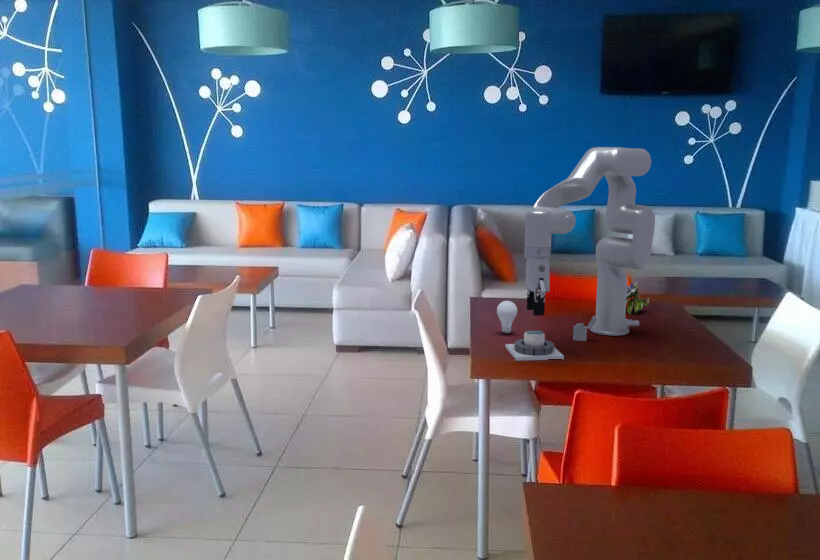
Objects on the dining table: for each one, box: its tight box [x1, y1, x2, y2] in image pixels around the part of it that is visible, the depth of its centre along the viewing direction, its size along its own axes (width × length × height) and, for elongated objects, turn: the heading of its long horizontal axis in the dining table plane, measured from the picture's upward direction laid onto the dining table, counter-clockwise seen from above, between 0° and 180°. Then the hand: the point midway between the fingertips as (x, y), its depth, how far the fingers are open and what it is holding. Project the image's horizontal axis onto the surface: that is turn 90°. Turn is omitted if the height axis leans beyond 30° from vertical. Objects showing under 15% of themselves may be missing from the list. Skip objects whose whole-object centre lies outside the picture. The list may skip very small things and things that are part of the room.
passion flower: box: [626, 281, 650, 315], centre depth 274 cm, size 13×12×14 cm
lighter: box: [572, 315, 597, 342], centre depth 233 cm, size 7×2×8 cm, turn 75°
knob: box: [523, 330, 546, 347], centre depth 218 cm, size 6×6×6 cm
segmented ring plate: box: [505, 338, 565, 362], centre depth 219 cm, size 14×14×3 cm
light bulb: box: [496, 300, 518, 335], centre depth 240 cm, size 7×7×11 cm
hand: (535, 311), depth 216 cm, fingers open, 6 cm apart
